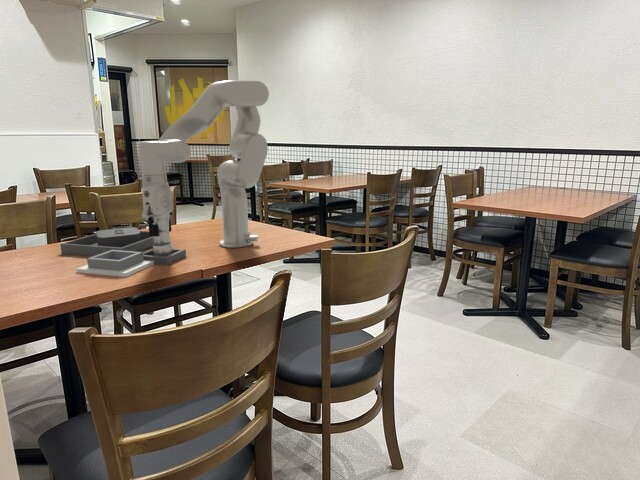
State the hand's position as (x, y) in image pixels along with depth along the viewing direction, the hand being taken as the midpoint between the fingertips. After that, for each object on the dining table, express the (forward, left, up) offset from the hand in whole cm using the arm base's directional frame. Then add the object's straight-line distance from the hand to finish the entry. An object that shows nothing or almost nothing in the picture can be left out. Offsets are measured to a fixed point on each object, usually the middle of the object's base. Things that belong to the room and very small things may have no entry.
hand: (160, 233), depth 148 cm
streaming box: (+27, -11, -9) cm, 30 cm away
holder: (0, 0, -9) cm, 9 cm away
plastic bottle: (0, 0, -9) cm, 9 cm away
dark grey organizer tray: (+27, -11, -9) cm, 31 cm away
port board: (+8, +12, -9) cm, 17 cm away
